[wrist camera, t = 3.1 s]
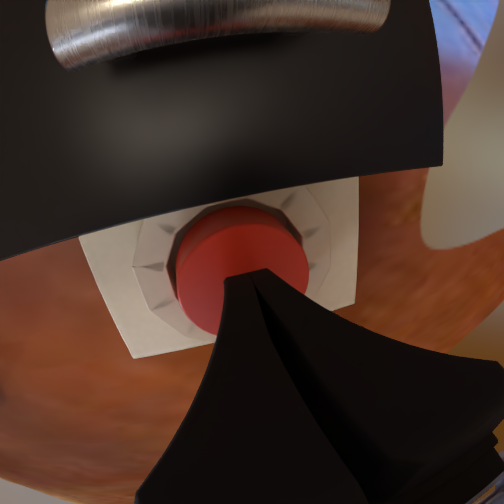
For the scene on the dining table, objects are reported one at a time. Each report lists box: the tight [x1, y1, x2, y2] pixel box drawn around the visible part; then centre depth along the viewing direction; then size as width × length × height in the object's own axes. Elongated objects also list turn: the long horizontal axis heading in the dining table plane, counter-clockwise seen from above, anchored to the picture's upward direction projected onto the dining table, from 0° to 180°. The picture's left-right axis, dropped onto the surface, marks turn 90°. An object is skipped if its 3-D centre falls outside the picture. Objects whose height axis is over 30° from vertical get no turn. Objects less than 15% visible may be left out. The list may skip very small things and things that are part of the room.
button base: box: [79, 176, 359, 359], centre depth 12 cm, size 9×12×3 cm
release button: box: [176, 206, 309, 336], centre depth 11 cm, size 4×4×2 cm
